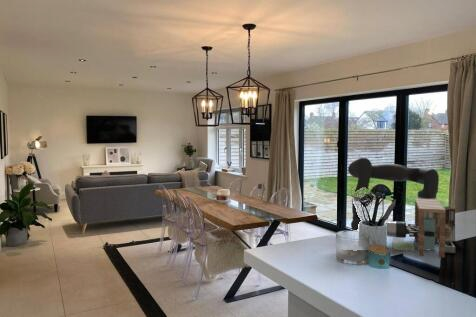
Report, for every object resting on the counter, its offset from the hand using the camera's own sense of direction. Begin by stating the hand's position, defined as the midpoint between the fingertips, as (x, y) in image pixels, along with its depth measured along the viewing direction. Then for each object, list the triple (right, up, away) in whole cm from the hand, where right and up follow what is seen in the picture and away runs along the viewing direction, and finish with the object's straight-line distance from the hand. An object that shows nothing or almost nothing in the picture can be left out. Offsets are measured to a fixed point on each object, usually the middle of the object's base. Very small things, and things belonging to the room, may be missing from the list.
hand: (433, 231), depth 166 cm
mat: (-11, -8, +5) cm, 15 cm away
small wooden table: (-1, -8, +1) cm, 8 cm away
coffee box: (+12, -7, +14) cm, 20 cm away
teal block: (-1, -8, +1) cm, 8 cm away
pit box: (+6, -8, -2) cm, 10 cm away
